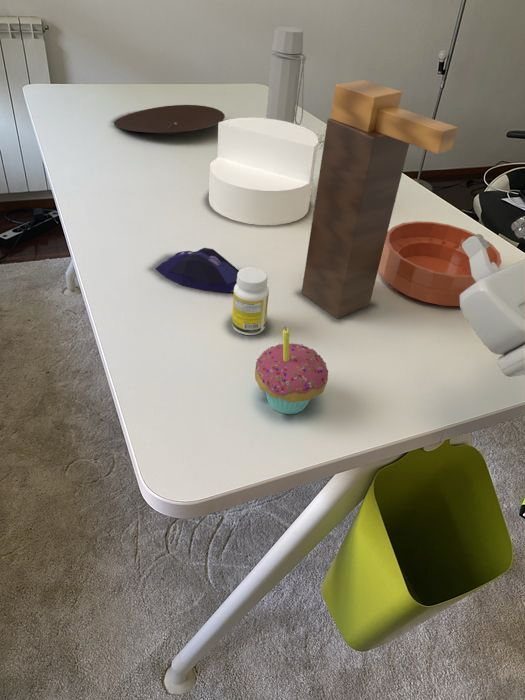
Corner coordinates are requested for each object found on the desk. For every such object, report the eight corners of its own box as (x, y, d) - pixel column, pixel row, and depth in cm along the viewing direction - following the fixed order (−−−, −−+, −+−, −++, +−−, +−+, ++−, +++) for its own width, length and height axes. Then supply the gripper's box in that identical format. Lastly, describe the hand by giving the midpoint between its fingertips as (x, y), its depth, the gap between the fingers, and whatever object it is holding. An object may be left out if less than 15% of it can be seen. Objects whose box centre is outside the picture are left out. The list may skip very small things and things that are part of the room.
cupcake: (285, 436, 62) (298, 354, 54) (237, 394, 66) (243, 313, 59) (336, 404, 66) (355, 324, 59) (288, 367, 71) (300, 288, 63)
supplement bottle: (246, 312, 80) (250, 261, 75) (272, 326, 78) (278, 274, 72) (224, 325, 77) (227, 274, 72) (250, 340, 75) (254, 288, 69)
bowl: (483, 263, 98) (494, 232, 94) (493, 319, 84) (507, 286, 80) (380, 244, 100) (388, 214, 96) (374, 297, 86) (383, 263, 82)
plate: (152, 104, 155) (151, 90, 153) (242, 124, 148) (242, 110, 146) (90, 129, 135) (89, 114, 133) (191, 154, 128) (191, 138, 125)
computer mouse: (179, 249, 92) (179, 227, 90) (258, 274, 88) (260, 252, 86) (147, 273, 86) (146, 250, 83) (231, 302, 81) (233, 279, 79)
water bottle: (259, 143, 137) (268, 29, 122) (268, 134, 143) (278, 24, 128) (295, 150, 136) (308, 35, 120) (302, 140, 142) (316, 30, 126)
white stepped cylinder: (189, 206, 106) (189, 135, 98) (240, 175, 120) (244, 111, 112) (281, 235, 100) (290, 162, 91) (324, 199, 114) (334, 133, 106)
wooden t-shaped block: (457, 147, 64) (468, 111, 61) (431, 156, 61) (441, 118, 58) (357, 112, 72) (363, 79, 69) (330, 118, 69) (335, 84, 66)
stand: (369, 305, 84) (412, 130, 68) (337, 319, 80) (374, 138, 64) (333, 281, 89) (365, 112, 72) (301, 293, 85) (327, 118, 69)
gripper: (642, 293, 60) (566, 192, 63) (545, 356, 49) (460, 232, 52) (591, 319, 65) (523, 225, 68) (494, 381, 55) (418, 267, 57)
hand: (495, 228), depth 60 cm, fingers open, 8 cm apart
